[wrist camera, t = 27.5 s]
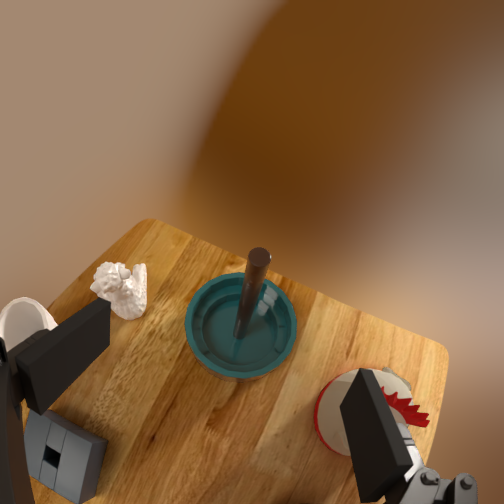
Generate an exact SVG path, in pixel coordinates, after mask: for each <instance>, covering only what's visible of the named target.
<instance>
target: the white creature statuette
mask: <svg viewBox="0 0 504 504" xmlns="http://www.w3.org/2000/svg"><path fill="white" fill-rule="evenodd" d="M132 276H133V277H132ZM146 276H147V274H146V265H145V264H143V263H142V264H140V265H139V264H136V265H134V267H133V272H132V275H131V271H130V270H129V269H125V264H122V263H118V262H117V263H116V264H113V263H112V262H110V263H109V262H105V263H104V264H101V266H100V267H98V268H97V272H96V273H95V274H94V279H95V281H94V282H93V283H92V285H91V286H90V289H91V290H92V291H94V292H95V293H97V296H98V297H100V298H103V299H105V300H108V301H110V302H111V309H112V310H113V311H114V312H115V313H116V314H117V315H118V316H119V317H122V318H124V319H126V320H134V319H135V318H139V317H140V316H142V313H143V312H144V311H145V308H146V305H147V297H146V296H147V291H146V289H147V285H146V284H147V278H146Z"/></svg>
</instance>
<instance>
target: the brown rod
mask: <svg viewBox="0 0 504 504" xmlns="http://www.w3.org/2000/svg"><path fill="white" fill-rule="evenodd" d="M270 261H271V255H270V253H269V252H268V251H267V250H266V249H264V248H261V247H257V248H254V249H252V250H251V251H250V253H249V255H248V260H247V265H246V270H245V275H244V280H243V285H242V290H241V295H240V300H239V306H238V311H237V316H236V321H235V326H234V331H233V336H234V337H235V338H236V339H238V340H241V339H243V338H244V337H245V335H246V332H247V329H248V326H249V323H250V320H251V318H252V315H253V312H254V309H255V306H256V303H257V300H258V297H259V294H260V291H261V288H262V285H263V282H264V279H265V276H266V273H267V270H268V267H269V264H270Z"/></svg>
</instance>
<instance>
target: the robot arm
mask: <svg viewBox="0 0 504 504" xmlns="http://www.w3.org/2000/svg"><path fill="white" fill-rule="evenodd" d="M110 314H111V302H110V301H108V300H105V299H103V298H100V297H99V298H97V299H96V300H94V301H93V302H91V303H90V304H88V305H87V306H85V307H84V308H83V309H81V310H80V311H78V312H77V313H75V314H74V315H72V316H71V317H69V318H68V319H66V320H65V321H64V322H62V323H61V324H59V325H58V326H56V327H55V328H54V329H52V330H49V329H47V328H46V329H43V330H39V331H37V332H35V333H34V334H32V335H31V336H30V337H28V338H26V339H25V340H24V341H22V342H21V343H19V344H18V345H16V346H15V347H13V348H12V349H11V350H9V351H8V352H7V351H6V346H5V341H4V340H3V339H2V338H1V337H0V504H35V501H34V497H33V492H32V488H31V483H30V478H29V472H28V466H27V459H26V452H25V444H24V434H23V421H22V406H21V403H20V402H21V401H22V400H23V399H24V398H25V399H26V403H27V406H28V408H30V409H31V410H33V411H34V412H36V413H37V414H39V415H40V416H41V415H42V414H43V413H44V412H45V411H46V410H47V409H48V408H49V407H50V406H51V405H52V404H53V403H54V402H55V401H56V400H57V398H58V397H59V396H60V395H61V394H62V393H63V392H64V391H65V390H66V389H67V388H68V387H69V386H70V385H71V384H72V383H73V382H74V381H75V380H76V379H77V378H78V377H79V376H80V375H81V373H82V372H83V371H84V370H85V369H86V368H87V367H88V366H89V365H90V364H91V363H92V362H93V361H94V360H95V359H96V358H97V357H98V356H99V355H100V354H101V353H102V352H103V351H104V350H105V349H106V348H107V347H108V346H109V345H110ZM339 408H340V412H341V416H342V420H343V424H344V428H345V432H346V437H347V441H348V445H349V450H350V454H351V459H352V463H353V468H354V472H355V477H356V482H357V487H358V492H359V497H360V502H361V503H370V502H377V501H378V500H379V499H380V498H382V497H383V496H384V495H385V499H386V502H385V503H383V504H478V500H477V499H478V498H477V483H476V480H475V479H474V477H472V476H471V475H470V474H467V473H461V474H458V475H457V476H456V477H455V478H454V479H453V480H448V479H441V478H440V476H439V474H438V473H437V472H436V471H435V470H433V469H431V468H428V467H425V465H424V463H423V461H422V458H421V456H420V454H419V452H418V449H417V447H416V446H415V443H414V440H412V436H411V434H410V432H409V430H408V429H407V428H406V427H405V426H404V424H403V423H396V421H395V418H394V416H393V414H392V412H391V409H390V407H389V405H388V403H387V401H386V398H385V396H384V394H383V392H382V390H381V388H380V385H379V383H378V381H377V379H376V377H375V375H374V373H373V371H372V370H370V369H363V368H359V370H358V372H357V374H356V376H355V378H354V380H353V382H352V384H351V386H350V388H349V390H348V391H347V393H346V395H345V397H344V399H343V401H342V403H341V404H340V406H339Z"/></svg>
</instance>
